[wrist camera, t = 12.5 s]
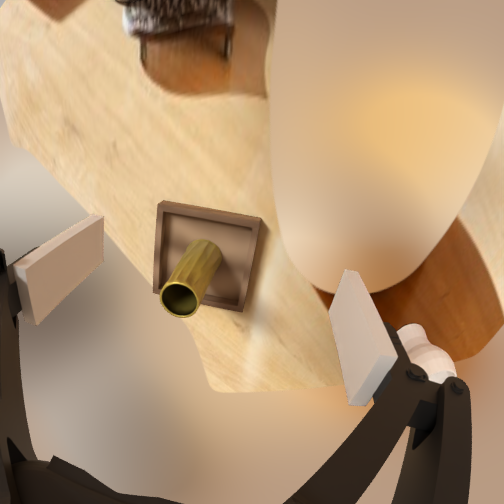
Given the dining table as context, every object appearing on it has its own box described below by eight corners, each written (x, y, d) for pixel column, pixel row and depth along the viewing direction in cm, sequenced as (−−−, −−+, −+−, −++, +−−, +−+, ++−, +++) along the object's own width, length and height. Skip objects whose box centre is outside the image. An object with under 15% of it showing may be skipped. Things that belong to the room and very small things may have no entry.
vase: (225, 243, 49) (206, 285, 36) (218, 276, 51) (199, 326, 38) (188, 234, 49) (157, 273, 36) (183, 268, 51) (154, 313, 38)
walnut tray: (163, 200, 47) (157, 204, 45) (261, 218, 47) (260, 222, 45) (157, 286, 54) (152, 293, 51) (243, 304, 54) (242, 312, 51)
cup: (385, 323, 53) (410, 376, 39) (433, 312, 52) (466, 360, 38) (382, 362, 57) (401, 416, 43) (426, 352, 55) (452, 400, 41)
